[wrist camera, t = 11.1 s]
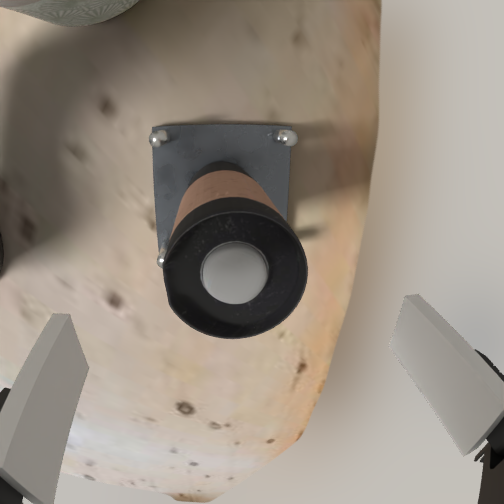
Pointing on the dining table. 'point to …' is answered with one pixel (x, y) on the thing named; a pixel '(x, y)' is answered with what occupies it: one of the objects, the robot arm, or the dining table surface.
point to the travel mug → (232, 257)
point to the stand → (214, 150)
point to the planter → (70, 10)
